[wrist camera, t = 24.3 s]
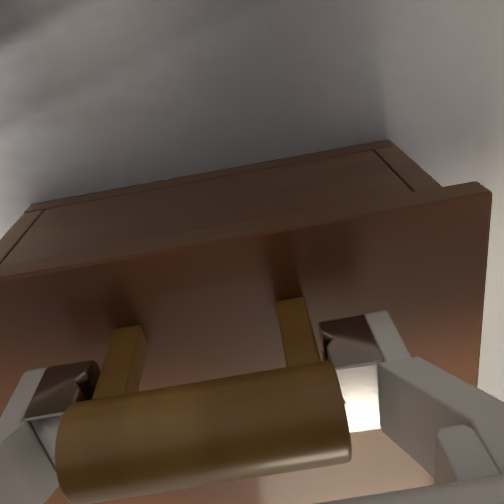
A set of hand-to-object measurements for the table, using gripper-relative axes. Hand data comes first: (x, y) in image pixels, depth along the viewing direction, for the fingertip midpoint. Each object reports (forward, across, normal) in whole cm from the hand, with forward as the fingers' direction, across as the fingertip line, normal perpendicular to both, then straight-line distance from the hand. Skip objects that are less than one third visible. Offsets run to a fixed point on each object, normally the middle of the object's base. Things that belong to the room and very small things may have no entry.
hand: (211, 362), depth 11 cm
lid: (+2, 0, +5) cm, 6 cm away
